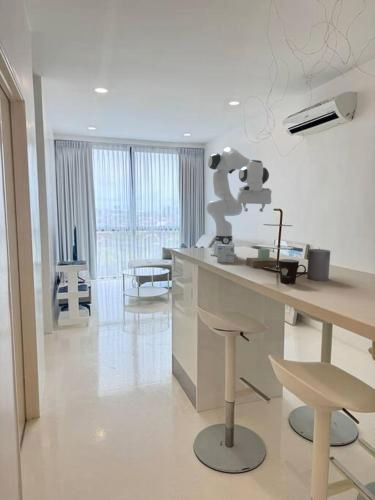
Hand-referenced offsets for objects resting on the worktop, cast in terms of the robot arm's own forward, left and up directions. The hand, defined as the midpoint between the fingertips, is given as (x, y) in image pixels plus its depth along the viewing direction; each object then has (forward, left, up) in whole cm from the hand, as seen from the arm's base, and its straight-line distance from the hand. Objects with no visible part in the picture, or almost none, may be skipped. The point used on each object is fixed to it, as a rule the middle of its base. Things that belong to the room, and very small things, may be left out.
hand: (253, 211), depth 203 cm
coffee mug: (+56, -1, -32) cm, 65 cm away
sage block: (+9, +4, -27) cm, 29 cm away
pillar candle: (+47, +17, -32) cm, 59 cm away
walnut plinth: (+9, +4, -31) cm, 33 cm away
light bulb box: (-9, -14, -32) cm, 36 cm away
